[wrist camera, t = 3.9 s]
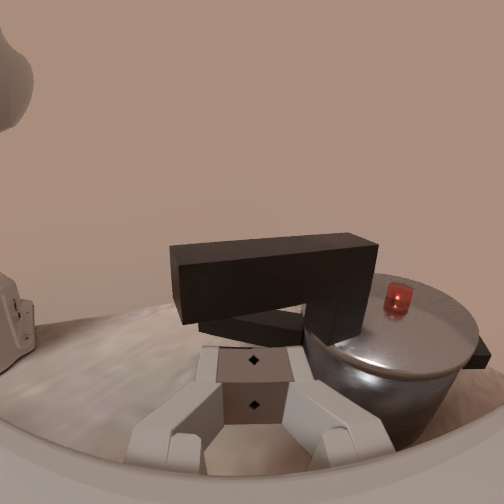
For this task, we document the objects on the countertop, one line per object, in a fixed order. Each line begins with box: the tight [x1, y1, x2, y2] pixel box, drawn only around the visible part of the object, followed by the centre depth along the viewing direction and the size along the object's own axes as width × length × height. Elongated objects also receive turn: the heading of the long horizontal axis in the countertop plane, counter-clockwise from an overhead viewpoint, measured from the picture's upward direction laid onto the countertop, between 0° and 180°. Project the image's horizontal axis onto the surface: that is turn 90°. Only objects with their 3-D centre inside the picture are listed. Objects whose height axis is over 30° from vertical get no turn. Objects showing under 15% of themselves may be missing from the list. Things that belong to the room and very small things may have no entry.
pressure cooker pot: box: [198, 310, 491, 452], centre depth 25 cm, size 29×16×10 cm, turn 73°
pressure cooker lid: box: [170, 233, 479, 381], centre depth 19 cm, size 26×17×8 cm, turn 113°
